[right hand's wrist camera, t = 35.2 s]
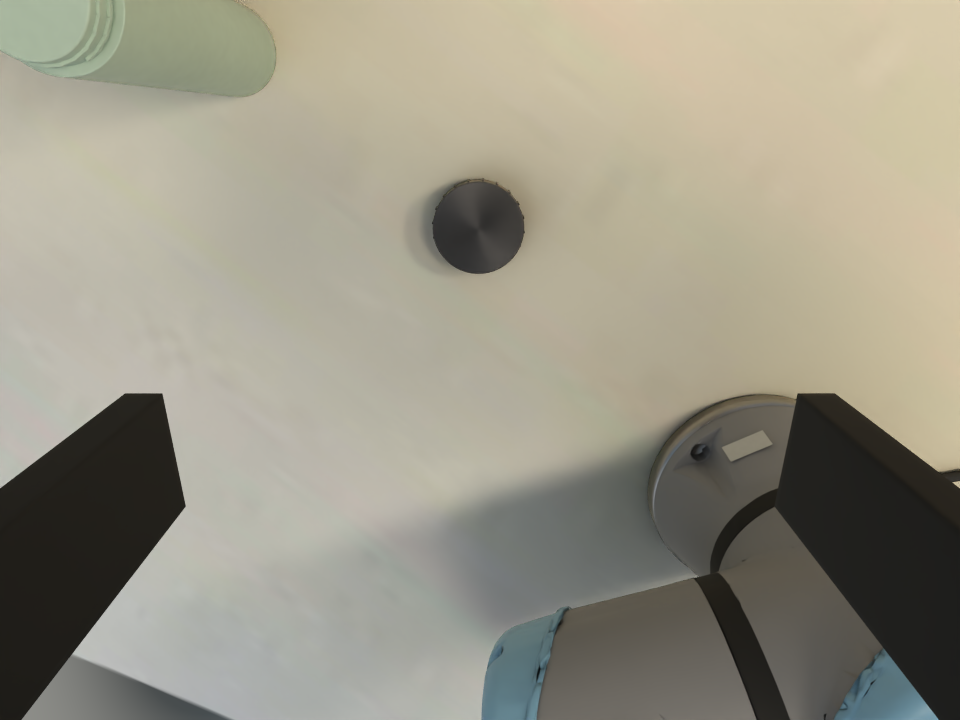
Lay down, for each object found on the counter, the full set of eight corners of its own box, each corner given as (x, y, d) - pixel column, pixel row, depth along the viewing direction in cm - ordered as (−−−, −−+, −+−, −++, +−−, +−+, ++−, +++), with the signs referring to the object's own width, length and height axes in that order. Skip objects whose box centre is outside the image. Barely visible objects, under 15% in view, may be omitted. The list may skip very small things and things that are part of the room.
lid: (419, 198, 39) (417, 201, 38) (504, 164, 38) (505, 165, 37) (454, 281, 41) (453, 287, 40) (535, 250, 40) (537, 255, 39)
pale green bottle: (293, 62, 36) (134, 10, 20) (231, 114, 37) (29, 106, 21) (235, -18, 35) (9, -150, 18) (172, 38, 36) (-98, -37, 19)
